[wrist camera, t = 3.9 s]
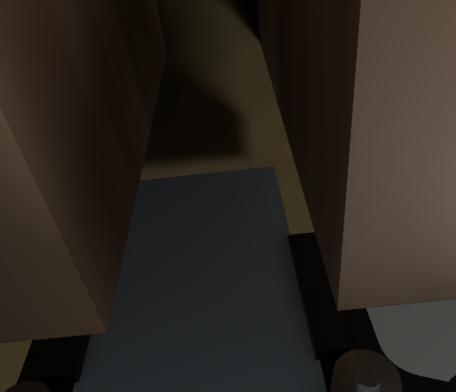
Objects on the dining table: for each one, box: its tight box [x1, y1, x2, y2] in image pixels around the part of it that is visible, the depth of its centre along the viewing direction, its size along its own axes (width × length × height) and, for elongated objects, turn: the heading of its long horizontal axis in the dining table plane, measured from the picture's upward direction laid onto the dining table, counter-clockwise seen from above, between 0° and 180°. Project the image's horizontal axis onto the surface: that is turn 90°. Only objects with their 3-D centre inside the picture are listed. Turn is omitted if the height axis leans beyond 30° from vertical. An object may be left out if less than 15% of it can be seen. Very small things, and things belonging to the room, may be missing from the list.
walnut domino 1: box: [0, 0, 167, 343], centre depth 8 cm, size 2×5×10 cm, turn 6°
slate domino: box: [73, 166, 327, 392], centre depth 11 cm, size 2×5×10 cm, turn 96°
